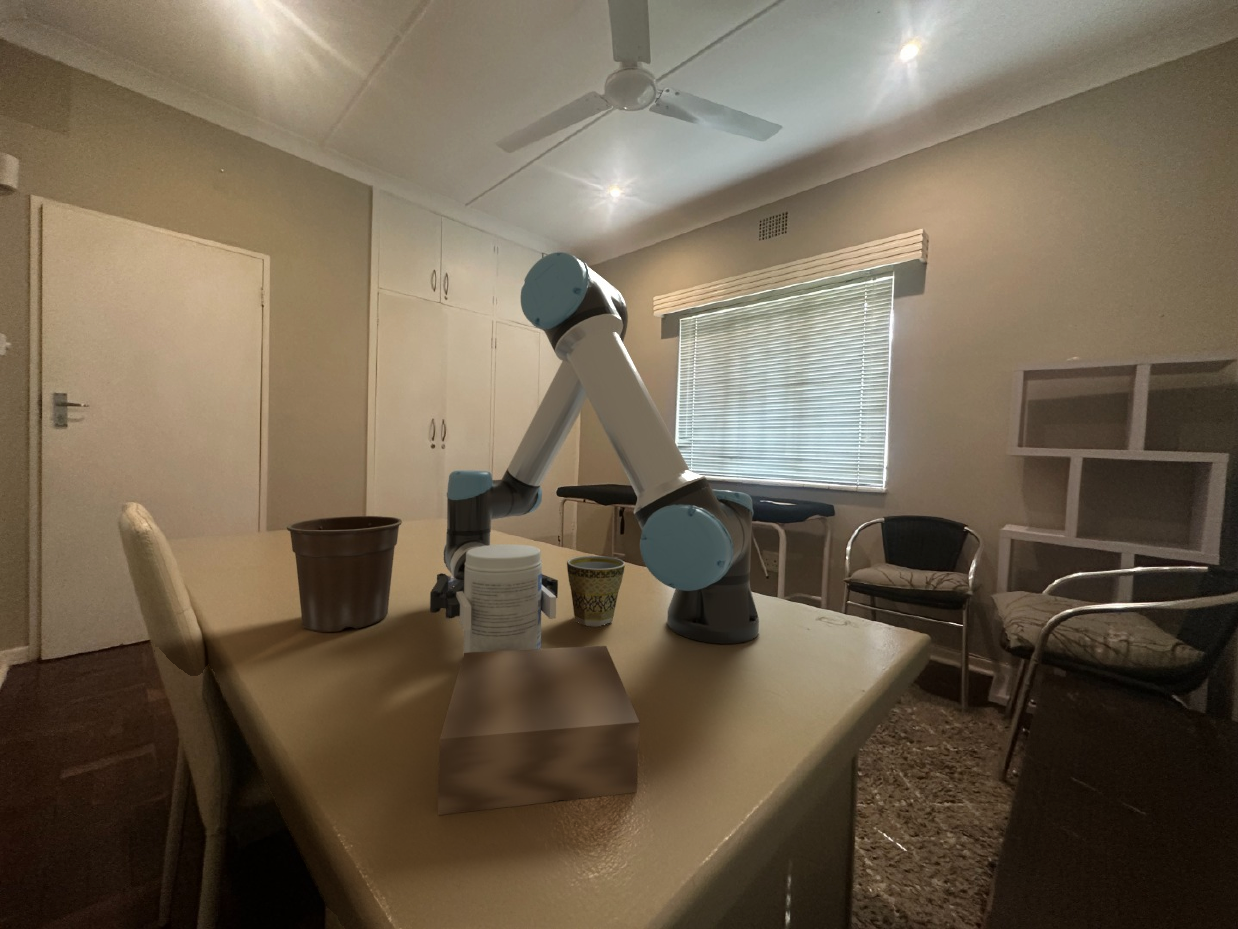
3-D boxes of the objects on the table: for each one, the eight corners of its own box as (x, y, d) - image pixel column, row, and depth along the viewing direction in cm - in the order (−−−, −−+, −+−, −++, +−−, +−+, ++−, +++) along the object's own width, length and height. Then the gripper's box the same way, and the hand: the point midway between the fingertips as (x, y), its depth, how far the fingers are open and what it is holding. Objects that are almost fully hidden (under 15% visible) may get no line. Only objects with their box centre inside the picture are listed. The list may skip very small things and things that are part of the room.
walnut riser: (604, 696, 56) (606, 645, 55) (636, 792, 40) (639, 722, 40) (462, 706, 52) (464, 652, 52) (437, 815, 37) (439, 739, 36)
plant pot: (257, 636, 69) (259, 527, 69) (329, 602, 86) (331, 513, 85) (364, 641, 69) (366, 531, 68) (416, 606, 85) (419, 517, 85)
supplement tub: (554, 667, 60) (557, 552, 60) (486, 691, 53) (489, 562, 53) (513, 643, 67) (516, 540, 66) (449, 663, 60) (451, 548, 60)
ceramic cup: (622, 631, 76) (624, 570, 76) (561, 629, 76) (563, 567, 76) (623, 606, 89) (625, 553, 89) (570, 604, 89) (572, 551, 89)
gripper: (543, 586, 81) (596, 631, 61) (401, 600, 71) (409, 660, 51) (544, 542, 81) (598, 573, 61) (402, 551, 71) (411, 591, 51)
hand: (512, 613), depth 56 cm, fingers closed on supplement tub, 9 cm apart
